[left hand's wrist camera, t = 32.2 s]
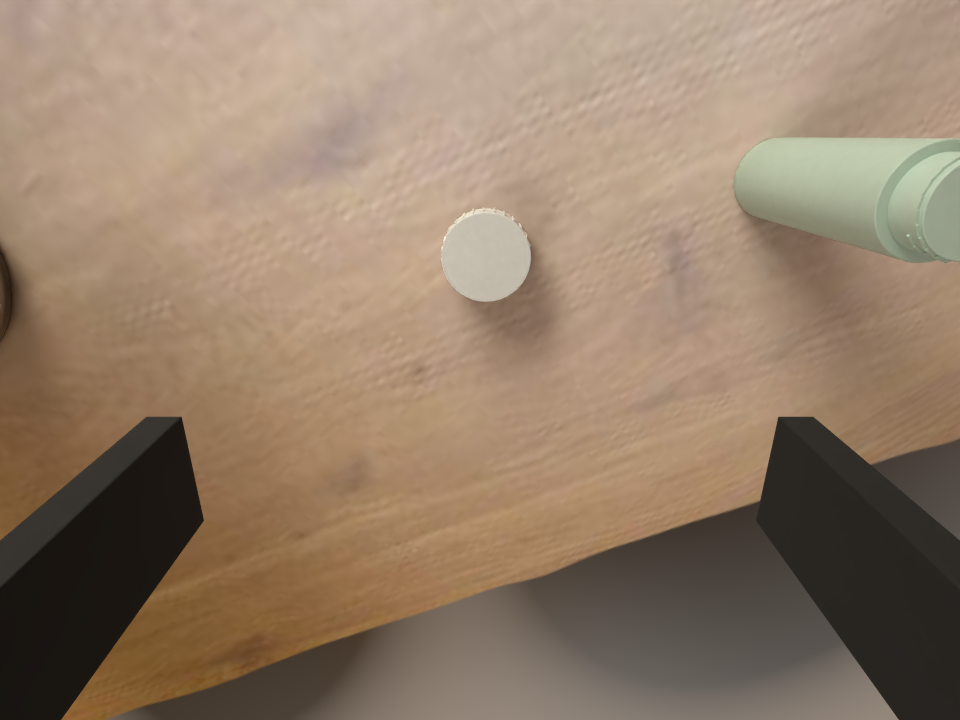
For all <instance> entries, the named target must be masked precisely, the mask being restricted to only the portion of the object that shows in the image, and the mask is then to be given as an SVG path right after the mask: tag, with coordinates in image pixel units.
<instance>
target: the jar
mask: <svg viewBox="0 0 960 720" xmlns="http://www.w3.org/2000/svg"><path fill="white" fill-rule="evenodd" d="M734 191H735V195H736V198H737V201H738V203H739V205H740V206H741V207H742V208H743V209H744V210H745V211H746V212H747V213H749V214H750V215H752V216H755V217H758V218H761V219H765V220H768V221H771V222H775V223H778V224H781V225H785V226H788V227H792V228H795V229H798V230H802V231H805V232H808V233H812V234H815V235H819V236H822V237H825V238H829V239H832V240H836V241H839V242H842V243H846V244H849V245H852V246H856V247H859V248H863V249H866V250H869V251H873V252H876V253H880V254H883V255H886V256H890V257H893V258H896V259H900V260H903V261H907V262H913V263H924V262H931V261H936V260H939V261H942V262H944V263H947V262H948V261H955V262H960V139H954V138H809V137H778V138H772V139H768V140H765V141H763V142H761V143H759V144H758V145H756V146H755V147H753V148H752V149H751V150H750V151H749V152H748V153H747V154H746V155H745V157H744V158H743V159H742V161H741V163H740V164H739V167H738V169H737V172H736V175H735V180H734Z"/></svg>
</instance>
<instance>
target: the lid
mask: <svg viewBox="0 0 960 720" xmlns="http://www.w3.org/2000/svg"><path fill="white" fill-rule="evenodd" d="M447 232H448V233H447V235H446V236H445V237H444V240H443V242H444V244H443V246H442V249H441V252H442V256H441V263H442V267H443V272H444V273H445V276H446V278H447V280H448V281H449V283H450V284H451V285H452V287H453V288H454V289H455V290H456V291H458V292H459V293H460V294H462V295H463V296H465V297H467V298H469V299H472V300H475V301H481V302H491V301H497V300H500V299H503V298H505V297H507V296H509V295H511V294H512V293H513V292H515V291H516V290H517V289H518V288H519V287H520V286H521V285H522V283H523V282H524V280H525V278H526V277H527V274H528V272H529V269H530V264H531V258H532V256H531V250H530V248H531V245H530V243H529V241H528V240H527V238H528V236H527V234H526V232H524V231H523V229H522V226H521V224H520V223H518V222H517V221H516V220H515V219H514V217H513V216H512V217H511V216H510V215H508V214H506V213H505V211H503V212H502V211H500V210H496V209H495V208H493V209H490V208H485V207H483V208H481V209H476V210H474V209H473V211H470V212H468V213H466V214H465V213H463V215H462V216H461V217H460V218H459V219H455V222H454V224H453V225H452V226H451V227H449V229H448V231H447Z"/></svg>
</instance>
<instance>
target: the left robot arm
mask: <svg viewBox="0 0 960 720" xmlns="http://www.w3.org/2000/svg"><path fill="white" fill-rule="evenodd" d="M10 311H11V287H10V281H9V276H8V272H7V269H6V265H5V262H4V260H3V257H2V255H1V252H0V340H1V338H2V337H3V335H4V333H5V330H6V328H7V325H8V321H9V317H10ZM203 521H204V519H203V514H202V510H201V505H200V500H199V496H198V491H197V486H196V482H195V477H194V472H193V468H192V463H191V458H190V454H189V449H188V445H187V440H186V435H185V431H184V426H183V421H182V417H146V418H145V419H144V420H142V421H141V422H140V423H139V424H138V425H137V426H135V427H134V428H133V429H132V430H131V431H129V432H128V433H127V434H126V435H125V436H124V437H122V438H121V439H120V440H119V441H118V442H116V443H115V444H114V445H113V446H112V447H110V448H109V449H108V450H107V451H106V452H105V453H103V454H102V455H101V456H100V457H99V458H97V459H96V460H95V461H94V462H93V463H92V464H90V465H89V466H88V467H87V468H86V469H84V470H83V471H82V472H81V473H80V474H79V475H77V476H76V477H75V478H74V479H73V480H71V481H70V482H69V483H68V484H67V485H65V486H64V487H63V488H62V489H61V490H60V491H58V492H57V493H56V494H55V495H54V496H52V497H51V498H50V499H49V500H48V501H47V502H45V503H44V504H43V505H42V506H41V507H39V508H38V509H37V510H36V511H35V512H34V513H32V514H31V515H30V516H29V517H28V518H26V519H25V520H24V521H23V522H22V523H21V524H19V525H18V526H17V527H16V528H15V529H13V530H12V531H11V532H10V533H9V534H7V535H6V536H5V537H4V538H3V539H2V540H0V720H61V719H62V718H63V716H64V715H65V714H66V712H67V711H68V709H69V708H70V707H71V705H72V704H73V702H74V701H75V700H76V698H77V697H78V695H79V694H80V693H81V691H82V690H83V688H84V687H85V686H86V684H87V683H88V681H89V680H90V679H91V677H92V676H93V674H94V673H95V672H96V670H97V669H98V668H99V666H100V665H101V663H102V662H103V661H104V659H105V658H106V656H107V655H108V654H109V652H110V651H111V649H112V648H113V647H114V645H115V644H116V642H117V641H118V640H119V638H120V637H121V635H122V634H123V633H124V631H125V630H126V628H127V627H128V626H129V624H130V623H131V621H132V620H133V619H134V617H135V616H136V615H137V613H138V612H139V610H140V609H141V608H142V606H143V605H144V603H145V602H146V601H147V599H148V598H149V596H150V595H151V594H152V592H153V591H154V589H155V588H156V587H157V585H158V584H159V582H160V581H161V580H162V578H163V577H164V575H165V574H166V573H167V571H168V570H169V568H170V567H171V566H172V564H173V563H174V561H175V560H176V559H177V557H178V556H179V555H180V553H181V552H182V550H183V549H184V548H185V546H186V545H187V543H188V542H189V541H190V539H191V538H192V536H193V535H194V534H195V532H196V531H197V529H198V528H199V527H200V525H201V524H202V522H203ZM756 521H757V522H758V524H759V525H760V527H761V528H762V529H763V531H764V532H765V534H766V535H767V536H768V538H769V539H770V541H771V542H772V543H773V545H774V546H775V548H776V549H777V550H778V552H779V553H780V555H781V556H782V557H783V559H784V560H785V561H786V563H787V564H788V566H789V567H790V568H791V570H792V571H793V573H794V574H795V575H796V577H797V578H798V579H799V581H800V582H801V584H802V585H803V587H804V588H805V589H806V591H807V592H808V594H809V595H810V596H811V598H812V599H813V600H814V602H815V603H816V605H817V606H818V608H819V609H820V610H821V612H822V613H823V614H824V616H825V617H826V619H827V620H828V621H829V623H830V624H831V626H832V627H833V628H834V630H835V631H836V633H837V634H838V635H839V637H840V638H841V640H842V641H843V642H844V644H845V645H846V647H847V648H848V649H849V651H850V652H851V653H852V655H853V656H854V658H855V659H856V660H857V662H858V663H859V665H860V666H861V667H862V669H863V670H864V672H865V673H866V674H867V676H868V677H869V679H870V680H871V681H872V683H873V684H874V686H875V687H876V688H877V690H878V691H879V693H880V694H881V695H882V697H883V698H884V700H885V701H886V702H887V704H888V705H889V707H890V708H891V709H892V711H893V712H894V714H895V715H896V716H897V718H898V719H899V720H960V540H958V539H957V538H956V537H955V536H954V535H953V534H951V533H950V532H949V531H948V530H947V529H945V528H944V527H943V526H942V525H941V524H939V523H938V522H937V521H936V520H935V519H934V518H932V517H931V516H930V515H929V514H928V513H926V512H925V511H924V510H923V509H922V508H921V507H919V506H918V505H917V504H916V503H915V502H913V501H912V500H911V499H910V498H909V497H908V496H906V495H905V494H904V493H903V492H902V491H900V490H899V489H898V488H897V487H896V486H895V485H893V484H892V483H891V482H890V481H889V480H887V479H886V478H885V477H884V476H883V475H881V474H880V473H879V472H878V471H877V470H876V469H874V468H873V467H872V466H871V465H870V464H868V463H867V462H866V461H865V460H864V459H863V458H861V457H860V456H859V455H858V454H857V453H855V452H854V451H853V450H852V449H851V448H850V447H848V446H847V445H846V444H845V443H844V442H842V441H841V440H840V439H839V438H838V437H836V436H835V435H834V434H833V433H832V432H831V431H829V430H828V429H827V428H826V427H825V426H823V425H822V424H821V423H820V422H819V421H818V420H816V419H815V418H814V417H778V421H777V426H776V431H775V435H774V440H773V445H772V449H771V454H770V458H769V463H768V468H767V472H766V477H765V482H764V486H763V491H762V496H761V500H760V505H759V510H758V514H757V519H756Z"/></svg>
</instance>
